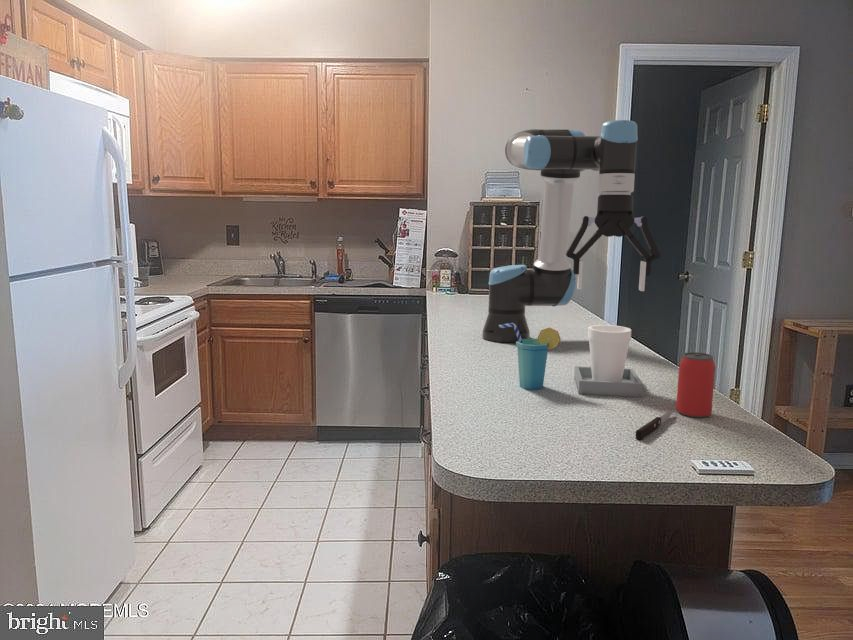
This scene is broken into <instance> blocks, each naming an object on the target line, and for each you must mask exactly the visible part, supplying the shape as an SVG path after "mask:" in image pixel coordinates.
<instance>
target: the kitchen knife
mask: <svg viewBox="0 0 853 640" xmlns="http://www.w3.org/2000/svg"><path fill="white" fill-rule="evenodd" d="M672 414H673V411H665V413H663V414H661V415H660V416H657V417H655V418H654V419H651V420H650V421H649V422H647V423H645V424H644V425H643V426H641V427H639V428H638V429H636V430H635V439H636V441H641V440H643V439H644V437H645V436H649V435H650V434H652V433H653V432H654V431H656V429H658V427H659V426H660V425H662V424H663V423H664V422H665V421H667V420H668V419H669V418H670V417H671V415H672Z"/></svg>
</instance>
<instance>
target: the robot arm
mask: <svg viewBox="0 0 853 640" xmlns="http://www.w3.org/2000/svg"><path fill="white" fill-rule="evenodd" d="M638 140H639V137H638V123H636V121H633V120H629V119H627V120H626V119H617V120H608V121H605V122H604V123H602V126H601V133H600V135H595V136H594V135H585V134H584V132H583V131H581V130H578V129H569V128H565V129H564V128H563V129H536V128H535V129H534V128H533V129H532V128H531V129H526V130H521V131H519V132H517V133H514V134H513V135H511V136H510V137H509V139H507V142H506V144H505V148H504V153H505V157H506V159H507V161H508V162H509V164H511V165H512V166H514V167H516V168H518V169H522V170H528V171H540V178H541V179H542V180H543V181H544V191H543V200H542V201H543V203H542V217H541V225H540V227H541V228H540V229H541V230H540V239H539V240H540V241H539V252H538V253H539V254H538V258H537V259H536V260H534V262H533V264H532V265H533V267H532V269H528V268H527V265H525V264H511V265H504V266H503V265H502V266H499V267H494V268H493V269H492V270H490V272H489V277H488V278H489V279H488V314H487V317H486V319H485V323H484V326H483V329H482V337H481V338H482V339H484V340H486V341H490V342H497V343H516V342H517V341H518V338H517V335H516V332H515V329H514V327H506V328H499V325H502V324H508V323H514V324H515V325H516V326H517V327H518V330H519V333H520V336H521V339H530V338H531V337H530V335H531V333H530V328H529V325H528V321H527V318H526V307H560V306H561V307H562V306H566V305H569V303H570V302H571V301H572V299H573V297H574V294H575V290H576V288H577V290H581V291H582V289H583V270H584V260H583V259H582V257H583V256H584V255H585V254H586V253H587V252H588V251H589V249H591V247H592V246H593V245H594V244H595V243H596V242H597V241H598V240H599V239H600V238H601V237H602V236H603V237H609V238H610V237H617V238H618V237H619V238H621V237H623V236H625V237H626V238H627V240H628V241H629V243H630V244H631V245H632V246H633V247H634V249H635V250H636V251H637V252H638V253H639V255H640V256H641V257H642V258H643V260H640V265H639V281H638V291H640V292H645V287H646V286H645V285H646V277H649V276H650V275H651V270H652V269H651V268H652V262H653V261H655V260H658V259H660V258H661V253H660V252H659V248H658V247H657V244H656V242H655V239H654V237H653V235H652V233H651V230H650V229H649V225H648V217H647V216H645V215H643V216H640V217H634V215H633V212H634V196H633V195H632V193H634V192H635V178H636V177H635V176H636V175H635V173H636V164H637V163H636V162H637V151H638V150H637V149H638V148H637V147H638ZM586 170H591V171H594V172H595V171H596V172H597V171H598V172H599V174H598V190H597V192H598V193H600V194H599V195H598V197H597V207H596V208H597V212H596V216H595V217H593V216H591V217H590V216H587V215H584V216H582V218H581V224H580V227H579V228H578V231H577V232H576V234H575V236H574V237H573V240H572V242H571V243H570V245H569V240H570V229H571V227H570V226H571V217H572V207H573V196H574V187H575V183H576V182H577V181H578V180H579V179H580V178H581V172H584V171H586ZM592 224H595V226H596V227H597V230H596V231H595V232H594V233H593V234H592V236H591V237H590V238H588V240H587V241H586V242H585V243H584V244H583V245H582V246H581V247H580V249H579V250H578V251H577V252H576V251H575V250H576V249H577V247H578V246H579V244H580V242H581V239H582V238H583V236H584V234H585V233H586V232H587V228H588V227H591V226H592ZM634 224H636V226H637V227H639V228H640V230H641V233H642V236H643V238H644V240H645V242H646V244H647V247H648V248H649V251H650V253H651V254H650V253H649V252H648V251H647V250H646V248H645V247H644V246H643V244H641V242H640V241H639V239H637V237H636V236H635V234H633V232H632V231H631V230H630V229H631V228H632V226H633V225H634ZM575 252H576V253H575ZM568 258H570V259H572V260H573V264H572V265H573V269H572V267H571V266H572V265H571V263H570V262H569V261H568V260H567V259H568ZM576 275H577V277H576ZM576 280H577V281H576ZM576 284H577V287H576Z"/></svg>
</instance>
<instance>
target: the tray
mask: <svg viewBox="0 0 853 640" xmlns="http://www.w3.org/2000/svg"><path fill="white" fill-rule="evenodd" d="M573 375H574V376H573V377H574V378H573V379H574V382H575V385H576V389H577V394H578V395H592V396H593V395H595V396H609V397H611V396H613V397H629V398H630V397H631V398H632V397H634V398H643V393H644V392H643V391H644V383H643V381H642V380H641V378H640V377H639V376H638V374H637V373H636V371H635V370H634V369H633V368H625V367H624V372H623V377H622V382H612V381H593V380H592V370H591V366H580V365H578V366H576V365H574V374H573Z"/></svg>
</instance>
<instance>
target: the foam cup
mask: <svg viewBox="0 0 853 640" xmlns="http://www.w3.org/2000/svg"><path fill="white" fill-rule="evenodd" d="M587 329H588V330H587V338H588V343H589V356H590V357H589V358H590V367H591V370H592V380H593V381H612V382H622V377H623V372H624V368H625V366H626V361H627V356H628V351H629V347H630V342H631V340H632V329H631V328H630V327H626V326H620V325H612V324H595V325H590V326H588V327H587Z"/></svg>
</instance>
